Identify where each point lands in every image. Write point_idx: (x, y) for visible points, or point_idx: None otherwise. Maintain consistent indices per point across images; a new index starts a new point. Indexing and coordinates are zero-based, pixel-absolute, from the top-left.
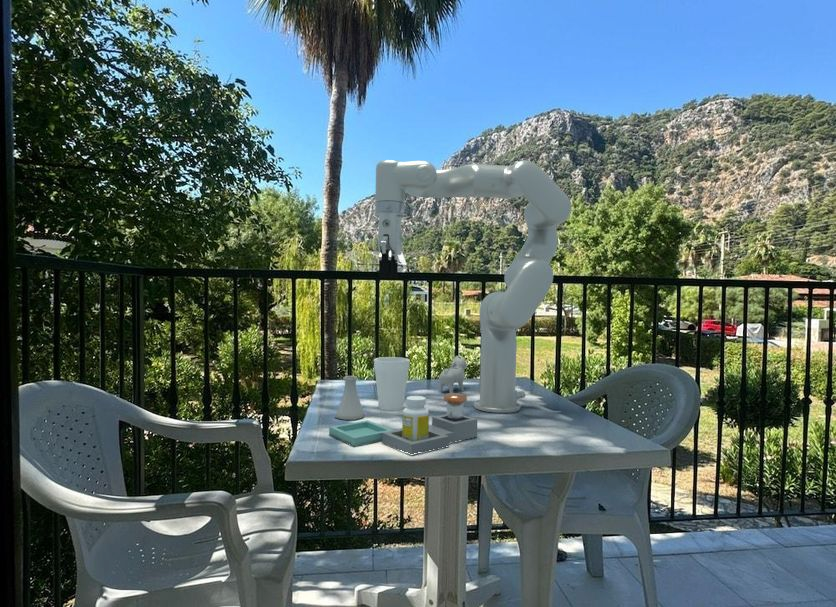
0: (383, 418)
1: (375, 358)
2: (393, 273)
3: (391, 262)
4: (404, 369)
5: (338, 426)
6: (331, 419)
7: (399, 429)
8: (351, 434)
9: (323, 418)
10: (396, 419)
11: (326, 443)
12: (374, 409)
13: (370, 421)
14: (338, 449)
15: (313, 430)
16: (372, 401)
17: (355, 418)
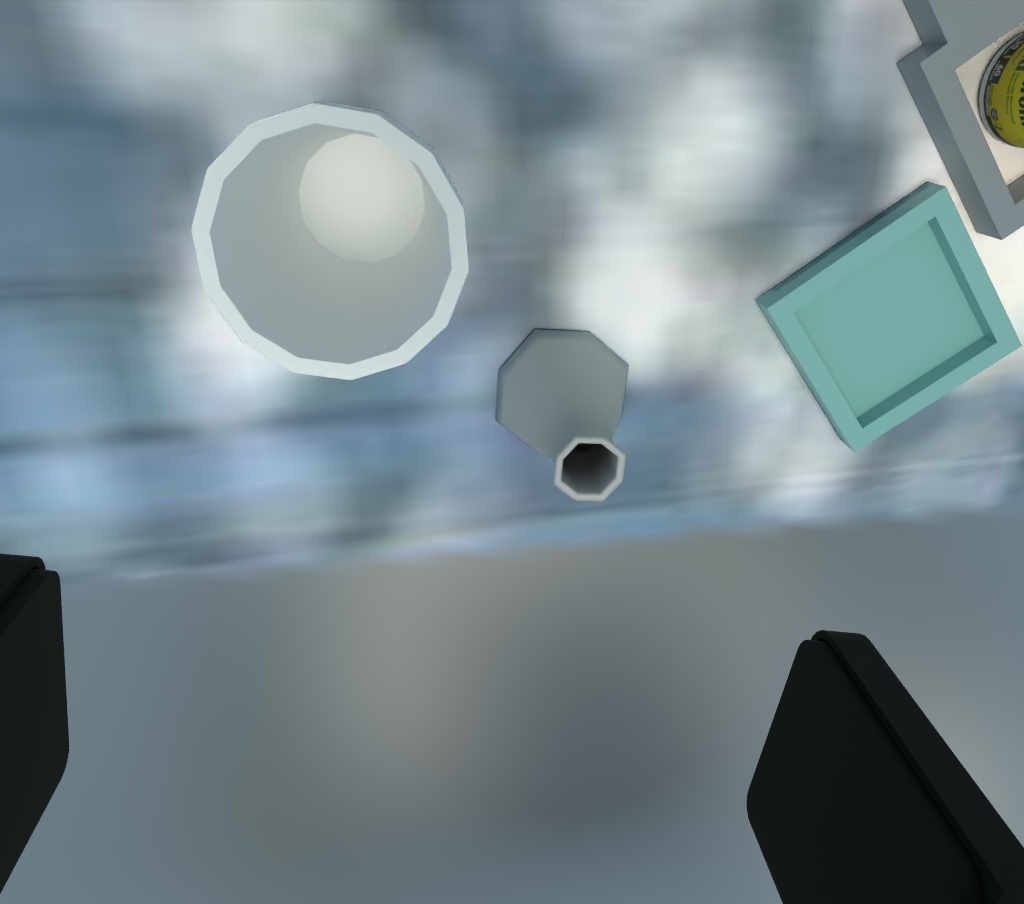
0: (587, 234)
1: (301, 372)
2: (27, 678)
3: (1021, 861)
4: (428, 144)
5: (851, 419)
6: None
7: (970, 162)
8: (972, 359)
9: None
10: (607, 167)
11: (938, 434)
12: None
13: (787, 296)
14: (1015, 386)
15: (766, 502)
16: None
17: (624, 365)
